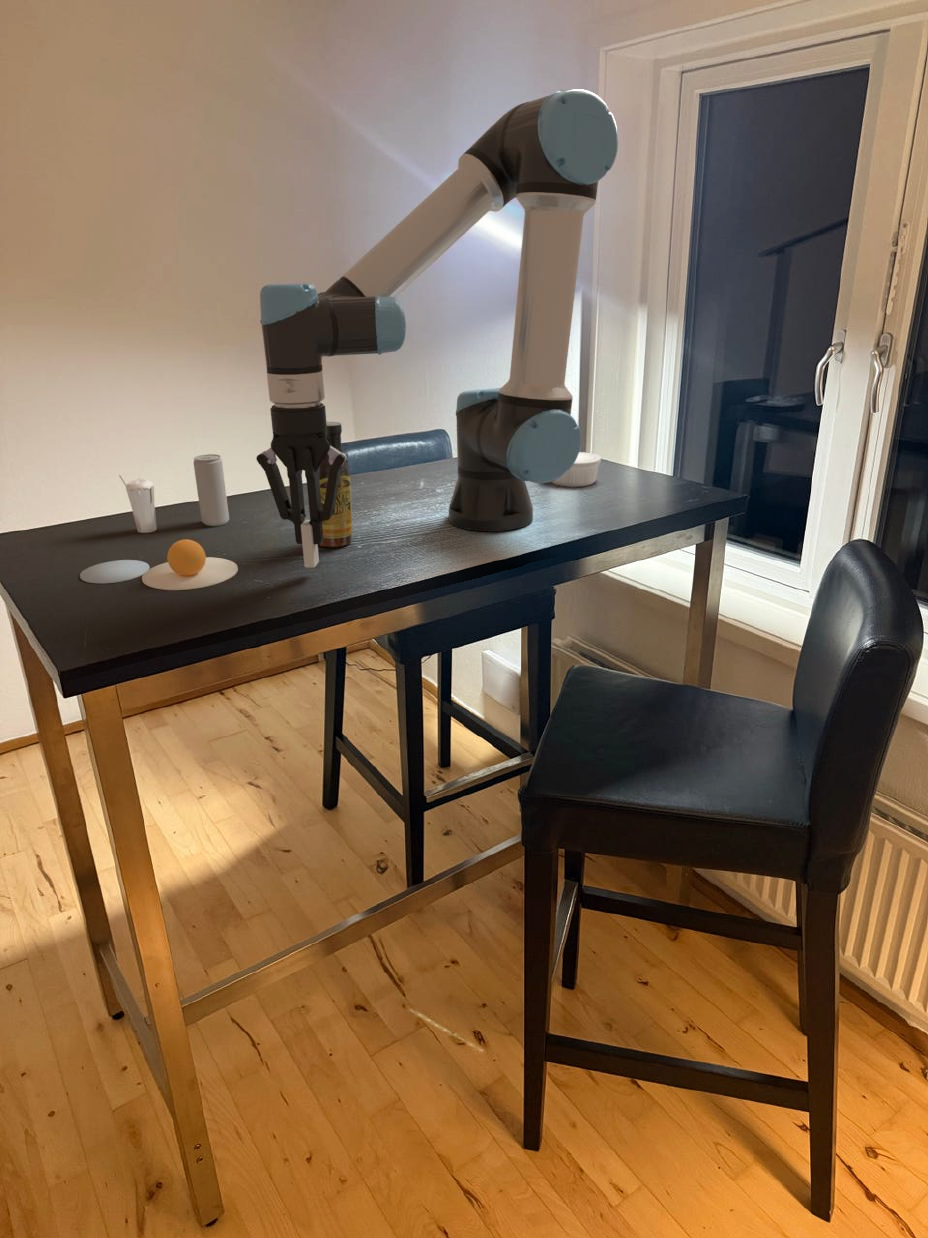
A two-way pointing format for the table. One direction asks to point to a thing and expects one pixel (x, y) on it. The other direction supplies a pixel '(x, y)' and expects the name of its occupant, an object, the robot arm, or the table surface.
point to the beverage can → (211, 489)
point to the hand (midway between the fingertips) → (311, 564)
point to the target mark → (208, 576)
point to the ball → (186, 557)
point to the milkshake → (142, 504)
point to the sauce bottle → (341, 521)
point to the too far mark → (114, 571)
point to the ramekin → (581, 471)
